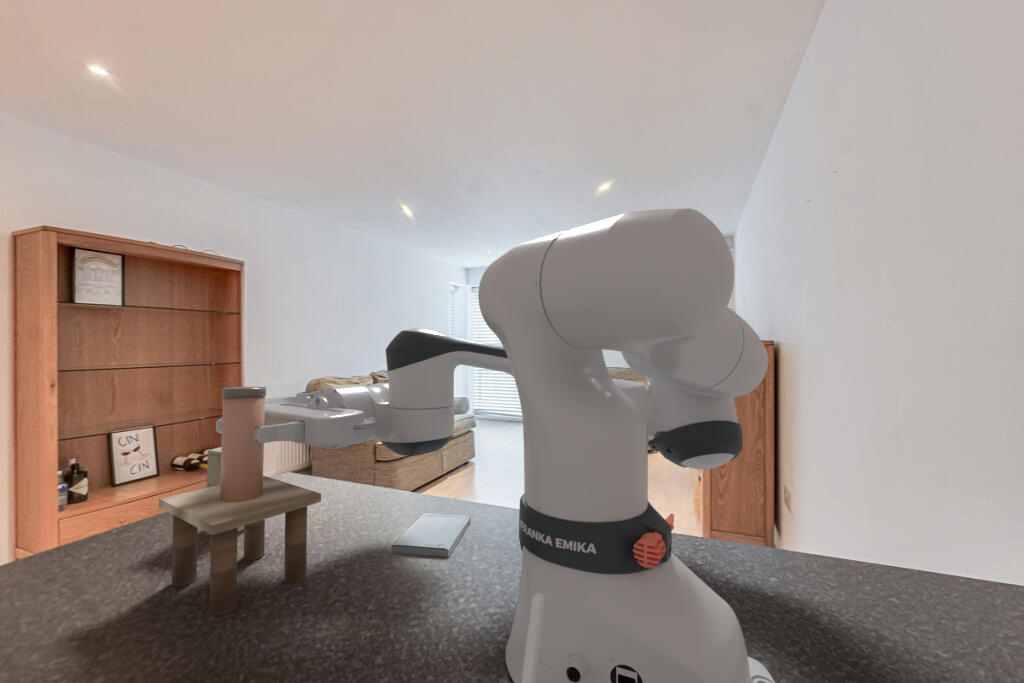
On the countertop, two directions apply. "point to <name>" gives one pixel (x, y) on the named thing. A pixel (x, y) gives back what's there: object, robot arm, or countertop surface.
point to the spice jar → (242, 443)
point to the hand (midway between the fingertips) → (236, 430)
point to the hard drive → (432, 535)
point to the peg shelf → (223, 526)
